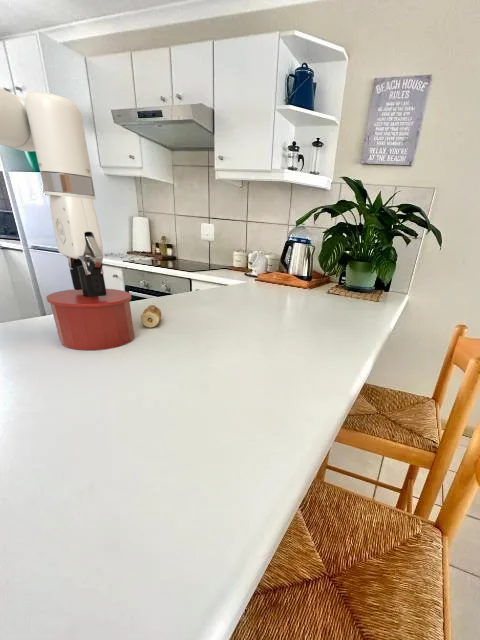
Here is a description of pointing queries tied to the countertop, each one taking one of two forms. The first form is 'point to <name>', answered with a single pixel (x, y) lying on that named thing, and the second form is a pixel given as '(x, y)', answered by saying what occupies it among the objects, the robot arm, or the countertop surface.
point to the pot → (94, 326)
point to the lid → (83, 300)
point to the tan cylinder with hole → (151, 316)
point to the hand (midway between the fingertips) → (90, 291)
